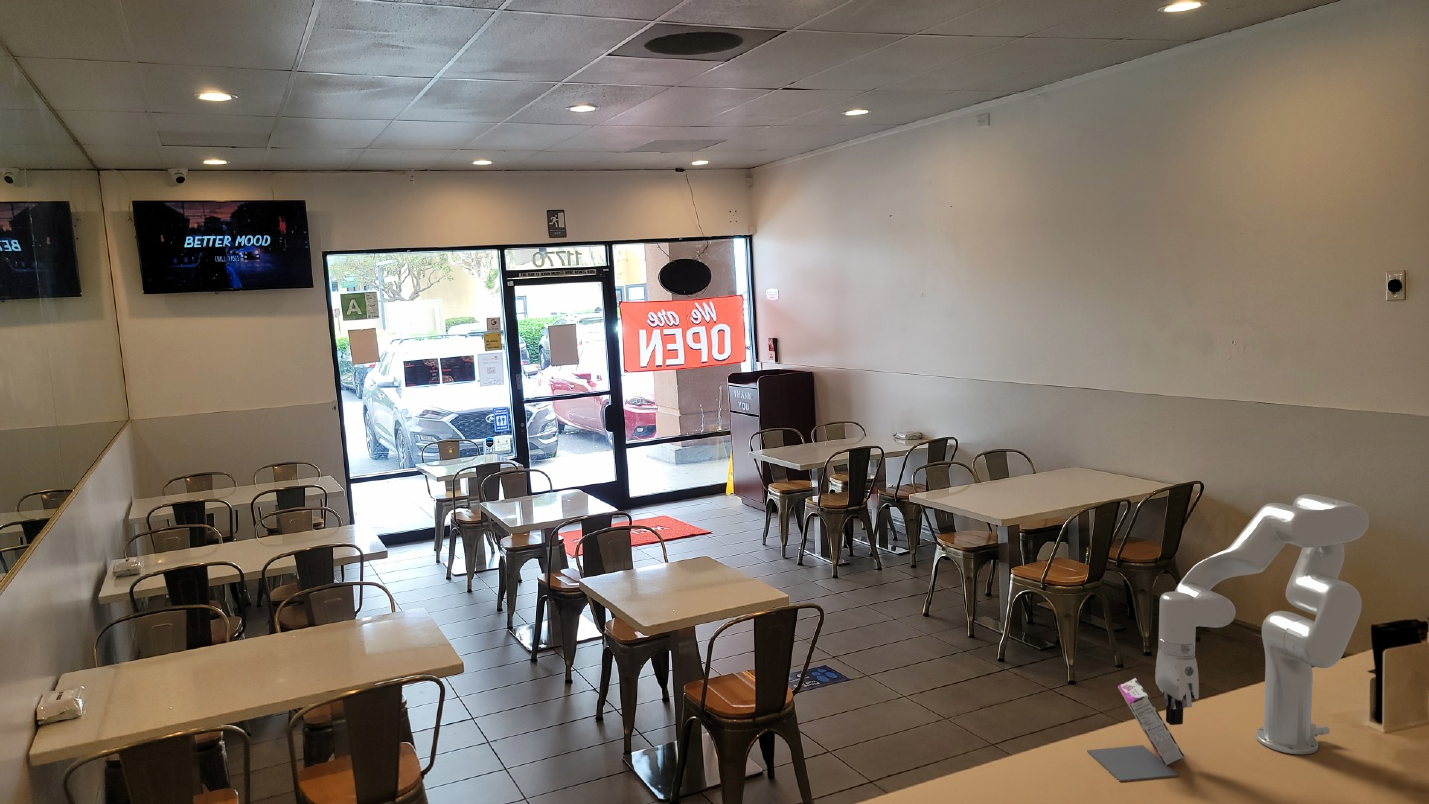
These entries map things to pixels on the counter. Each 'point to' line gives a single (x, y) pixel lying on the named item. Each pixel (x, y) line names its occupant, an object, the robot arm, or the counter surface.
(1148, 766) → the rubber mat
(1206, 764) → the counter surface
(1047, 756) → the counter surface
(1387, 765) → the counter surface
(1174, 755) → the candy bar box
